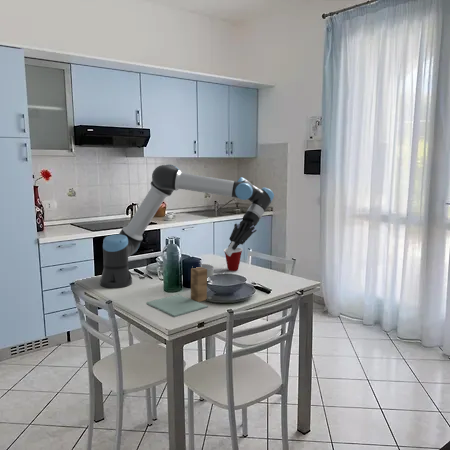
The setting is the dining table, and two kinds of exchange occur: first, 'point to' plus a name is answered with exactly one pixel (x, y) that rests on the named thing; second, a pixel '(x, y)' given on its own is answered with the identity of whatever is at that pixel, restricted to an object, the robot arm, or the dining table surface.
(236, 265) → the plastic cup
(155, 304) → the rubber mat
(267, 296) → the dining table surface
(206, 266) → the teacup
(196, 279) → the walnut block
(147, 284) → the dining table surface
